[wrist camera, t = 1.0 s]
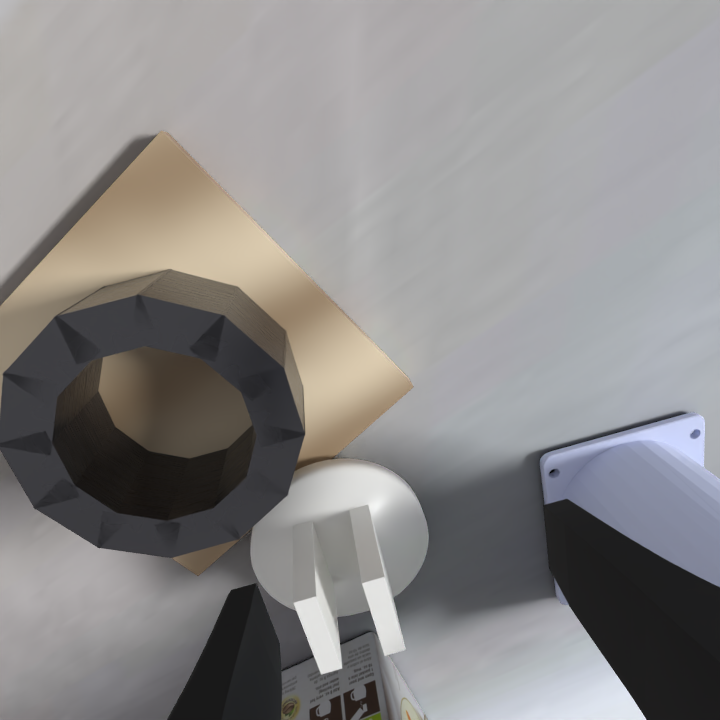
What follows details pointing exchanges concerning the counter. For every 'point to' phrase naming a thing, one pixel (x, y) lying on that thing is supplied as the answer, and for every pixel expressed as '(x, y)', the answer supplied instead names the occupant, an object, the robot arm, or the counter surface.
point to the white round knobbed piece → (341, 550)
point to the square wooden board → (215, 262)
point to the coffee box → (349, 687)
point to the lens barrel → (124, 455)
